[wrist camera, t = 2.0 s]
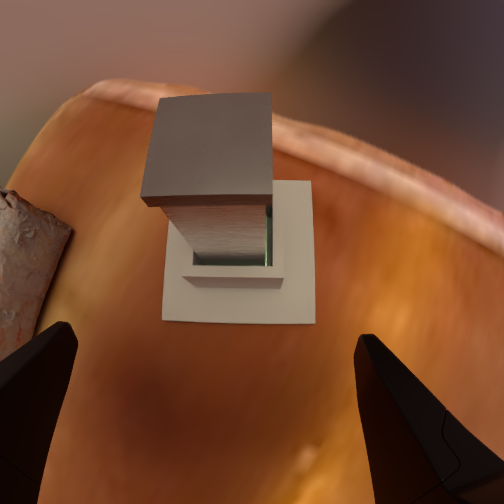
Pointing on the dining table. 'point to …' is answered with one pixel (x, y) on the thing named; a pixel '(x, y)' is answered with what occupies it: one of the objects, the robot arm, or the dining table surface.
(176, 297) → the stand base
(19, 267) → the food item
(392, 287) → the dining table surface
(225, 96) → the column
